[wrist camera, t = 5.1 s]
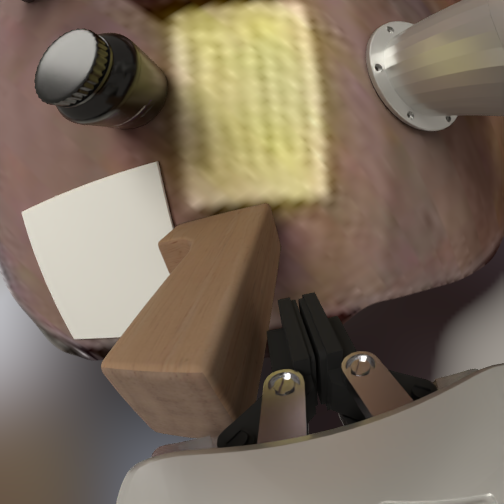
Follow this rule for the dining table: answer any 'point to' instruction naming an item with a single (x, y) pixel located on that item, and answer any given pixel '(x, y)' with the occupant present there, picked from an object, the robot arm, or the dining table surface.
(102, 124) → the supplement bottle
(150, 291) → the off-white mat
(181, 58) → the dining table surface
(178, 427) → the wooden block
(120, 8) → the dining table surface
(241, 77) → the dining table surface
